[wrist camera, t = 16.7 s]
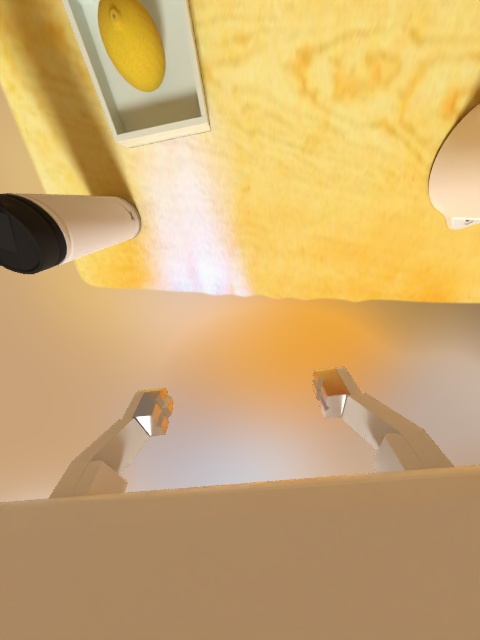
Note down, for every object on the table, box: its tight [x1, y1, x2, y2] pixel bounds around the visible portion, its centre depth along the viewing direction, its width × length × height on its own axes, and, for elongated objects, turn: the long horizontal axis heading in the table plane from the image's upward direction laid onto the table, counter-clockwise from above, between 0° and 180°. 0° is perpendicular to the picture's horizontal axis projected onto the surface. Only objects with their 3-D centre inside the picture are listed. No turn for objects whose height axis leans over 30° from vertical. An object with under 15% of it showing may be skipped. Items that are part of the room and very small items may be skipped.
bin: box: [62, 0, 211, 148], centre depth 22 cm, size 12×12×3 cm
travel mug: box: [0, 193, 141, 274], centre depth 23 cm, size 6×7×20 cm
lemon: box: [98, 0, 166, 92], centre depth 19 cm, size 6×6×8 cm
